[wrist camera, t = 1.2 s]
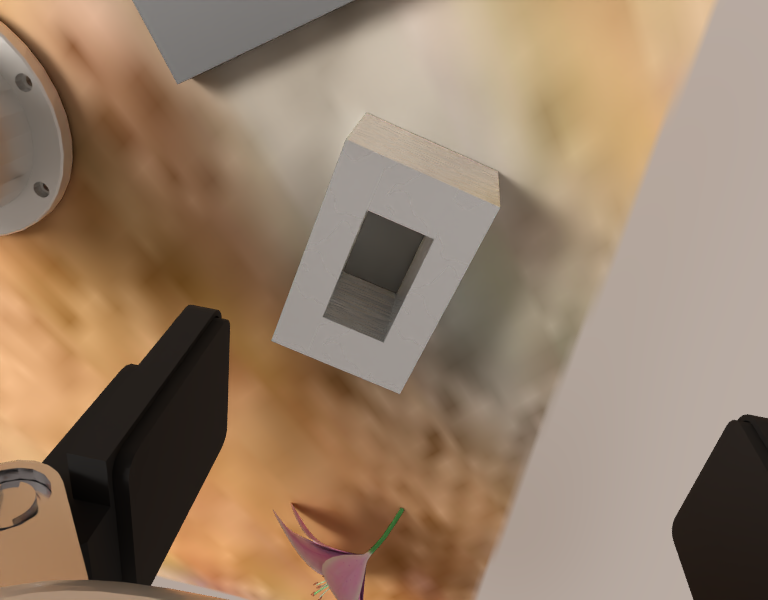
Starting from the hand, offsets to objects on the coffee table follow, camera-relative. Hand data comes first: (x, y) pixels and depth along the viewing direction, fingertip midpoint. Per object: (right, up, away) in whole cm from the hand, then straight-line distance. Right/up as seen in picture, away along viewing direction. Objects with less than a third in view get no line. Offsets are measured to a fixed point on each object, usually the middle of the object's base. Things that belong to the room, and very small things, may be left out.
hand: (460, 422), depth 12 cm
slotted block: (-1, +6, +21) cm, 22 cm away
